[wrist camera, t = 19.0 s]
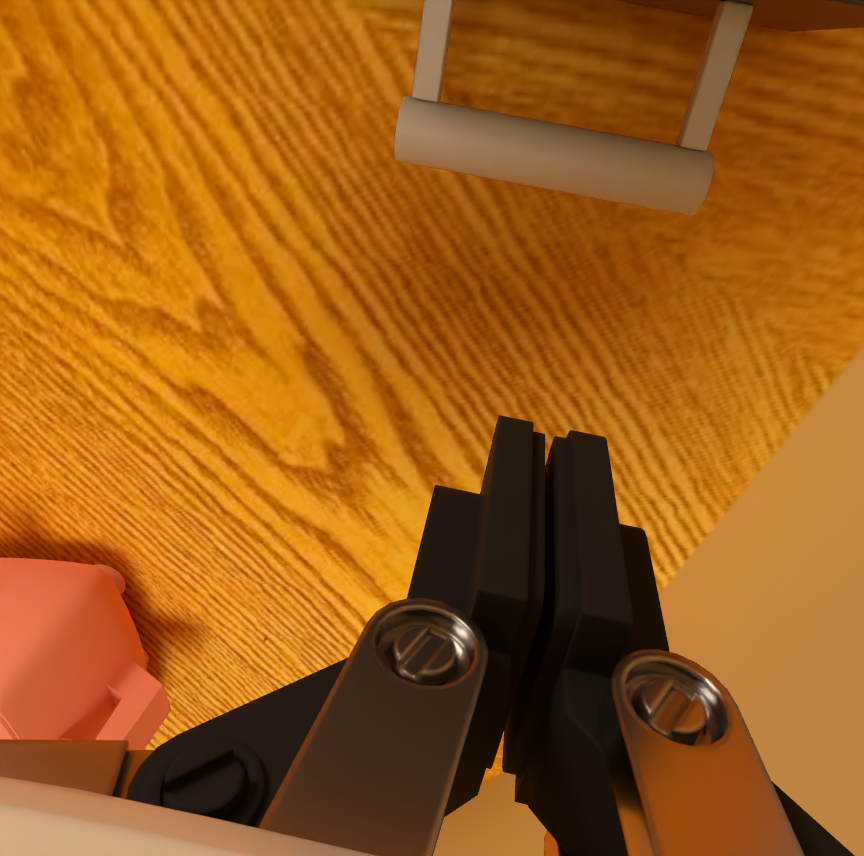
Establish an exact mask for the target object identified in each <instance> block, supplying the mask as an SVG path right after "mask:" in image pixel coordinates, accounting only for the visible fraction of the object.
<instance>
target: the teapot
mask: <svg viewBox="0 0 864 856" xmlns="http://www.w3.org/2000/svg"><path fill="white" fill-rule="evenodd" d="M125 588H126V583H125V580H124V578H123V577H122V575H121V574H120V573H119V572H118V571H117V570H115V569H114V568H112V567H110V566H107V565H102V564H96V565H89V564H83V563H75V562H67V561H56V560H44V559H30V558H5V557H0V739H18V740H129V748H130V750H144V749H145V747H146V746H147V744H148V743H149V741H150V740H151V739H152V737H153V736H154V734H155V733H156V731H157V730H158V728H159V727H160V725H161V724H162V723H163V721H164V720H165V718H166V717H167V715H168V714H169V712H170V711H171V707H170V704H169V701H168V699H167V696H166V693H165V690H164V687H163V685H162V684H161V683H160V682H159V681H157V680H156V679H155V678H154V677H152V676H151V675H150V674H149V673H147V668H146V665H147V663H148V661H149V657H148V654H147V652H146V651H145V650H144V649H143V648H142V644H141V640H140V637H139V635H138V632H137V629H136V627H135V624H134V622H133V620H132V617H131V615H130V613H129V611H128V609H127V607H126V605H125V602H124V600H123V598H122V596H121V594H122V593H123V592H124V591H125Z"/></svg>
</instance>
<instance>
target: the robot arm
mask: <svg viewBox="0 0 864 856" xmlns="http://www.w3.org/2000/svg"><path fill="white" fill-rule="evenodd" d="M503 732H504V744H503V761H502V768H503V772H506V773H510V774H514V775H516V781H515V802H518V803H523V804H527V805H528V807H529V808H530V809H531V811H532V812H533V813H534V814H535V815H536V817H537V818H538V819H539V820H540V822H541V823H542V824H543V825H544V826H545V828H546V829H547V831H546V834H545V837H544V856H854V855H853V854H852V853H851V852H850V851H849V850H848V849H846V848H845V847H844V846H843V845H842V844H841V843H840V842H839V841H837V840H836V839H835V838H834V837H833V836H832V835H831V834H830V833H829V832H828V831H826V830H825V829H824V828H823V827H822V826H821V825H820V824H818V823H817V822H816V821H815V820H814V819H813V818H812V817H811V816H810V815H809V814H808V813H806V812H805V811H804V810H803V809H802V808H801V807H800V806H799V805H797V804H796V803H795V802H794V801H793V800H792V799H791V798H790V797H788V795H786V794H785V793H784V792H783V791H782V790H781V789H780V788H779V787H778V786H776V785H775V784H774V783H773V782H772V781H771V779H770V777H769V775H768V773H767V771H766V769H765V766H764V764H763V762H762V759H761V757H760V755H759V753H758V750H757V748H756V746H755V744H754V741H753V739H752V737H751V735H750V733H749V730H748V728H747V726H746V724H745V721H744V719H743V717H742V715H741V712H740V710H739V708H738V706H737V704H736V703H735V701H734V700H733V698H732V696H731V695H730V693H729V691H728V690H727V689H726V688H725V687H724V685H723V684H722V683H721V682H720V681H719V680H718V679H717V678H716V677H715V676H714V675H713V674H711V673H710V672H709V671H707V670H706V669H704V668H703V667H701V666H700V665H699V664H697V663H695V662H694V661H692V660H689V659H687V658H685V657H683V656H680V655H678V654H676V653H672V652H669V646H668V641H667V637H666V631H665V626H664V621H663V616H662V611H661V607H660V601H659V596H658V591H657V586H656V581H655V576H654V571H653V566H652V561H651V556H650V551H649V546H648V541H647V537H646V534H645V531H644V530H643V529H641V528H637V527H632V526H627V525H623V524H619V519H618V513H617V506H616V499H615V492H614V486H613V479H612V472H611V465H610V459H609V452H608V445H607V440H606V437H602V436H597V435H592V434H587V433H582V432H578V431H573V430H570V431H569V433H568V435H567V437H566V438H562V437H557V436H555V437H554V439H553V442H552V445H551V448H550V452H549V455H548V459H547V462H546V466H545V434H542V433H538V432H533V422H529V421H524V420H519V419H515V418H510V417H505V416H500V415H499V417H498V420H497V424H496V428H495V432H494V437H493V441H492V445H491V449H490V454H489V458H488V462H487V467H486V471H485V475H484V479H483V484H482V488H481V492H480V494H476V493H472V492H467V491H462V490H458V489H453V488H448V487H443V486H439V485H435V488H434V491H433V495H432V499H431V503H430V507H429V512H428V516H427V520H426V524H425V528H424V532H423V536H422V540H421V544H420V548H419V552H418V556H417V560H416V564H415V568H414V572H413V576H412V580H411V584H410V588H409V592H408V596H407V599H404V600H400V601H396V602H393V603H390V604H388V605H386V606H385V607H383V608H381V609H380V610H378V611H377V612H376V613H375V614H374V615H373V616H372V618H371V619H370V620H369V621H368V623H367V624H366V626H365V627H364V629H363V631H362V633H361V635H360V637H359V639H358V641H357V643H356V644H355V646H354V648H353V650H352V652H351V654H350V656H349V658H346V659H344V660H342V661H340V662H337V663H335V664H333V665H331V666H329V667H326V668H324V669H322V670H320V671H318V672H315V673H313V674H311V675H309V676H307V677H304V678H302V679H300V680H298V681H295V682H293V683H291V684H289V685H287V686H284V687H282V688H280V689H278V690H276V691H273V692H271V693H269V694H267V695H265V696H262V697H260V698H258V699H256V700H253V701H251V702H249V703H247V704H245V705H242V706H240V707H238V708H236V709H234V710H231V711H229V712H227V713H225V714H223V715H220V716H218V717H216V718H214V719H211V720H209V721H207V722H205V723H203V724H200V725H198V726H196V727H194V728H192V729H189V730H187V731H185V732H183V733H181V734H178V735H177V736H175V737H173V738H172V739H170V740H168V741H167V742H165V743H164V744H162V745H160V746H159V747H157V748H156V749H155V750H130V748H129V740H18V739H0V856H433V853H434V850H435V846H436V843H437V839H438V836H439V832H440V829H441V826H442V822H443V819H444V817H445V816H447V815H448V814H450V813H451V812H453V811H454V810H456V809H457V808H459V807H460V806H462V805H463V804H465V803H466V802H468V801H469V800H471V799H472V798H474V797H475V796H477V795H478V792H479V789H480V786H481V783H482V780H483V777H484V773H485V770H486V768H488V769H491V768H492V765H493V763H494V759H495V756H496V753H497V750H498V747H499V744H500V741H501V738H502V735H503Z"/></svg>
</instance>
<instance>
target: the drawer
mask: <svg viewBox="0 0 864 856" xmlns="http://www.w3.org/2000/svg"><path fill="white" fill-rule="evenodd" d="M618 1H624V2H629V3H635V4H640V5H646V6H652V7H657V8H663V9H668V10H674V11H680V12H685V13H691V14H696V15H702V16H708V17H713V18H714V20H713V23H712V26H711V30H710V33H709V36H708V39H707V43H706V46H705V49H704V52H703V56H702V59H701V62H700V65H699V69H698V72H697V75H696V78H695V82H694V85H693V88H692V91H691V95H690V98H689V101H688V104H687V108H686V111H685V114H684V117H683V121H682V124H681V127H680V130H679V134H678V137H677V140H676V144H678V145H679V146H676V145H671V144H665V143H660V142H655V141H649V140H644V139H638V138H633V137H627V136H622V135H617V134H611V133H606V132H600V131H595V130H589V129H584V128H579V127H573V126H568V125H562V124H557V123H551V122H546V121H540V120H535V119H530V118H524V117H519V116H513V115H508V114H502V113H497V112H492V111H486V110H481V109H475V108H470V107H464V106H459V105H454V104H448V103H443V102H438V101H439V100H440V99H441V93H442V86H443V79H444V72H445V66H446V59H447V52H448V45H449V39H450V32H451V25H452V18H453V12H454V5H455V0H424V3H423V11H422V19H421V27H420V34H419V42H418V50H417V58H416V65H415V73H414V81H413V88H412V97H410V96H405V97H404V98H403V100H402V102H401V105H400V109H399V113H398V118H397V124H396V131H395V141H394V156H395V160H396V161H399V162H404V163H410V164H415V165H421V166H426V167H431V168H437V169H442V170H447V171H453V172H458V173H463V174H469V175H474V176H479V177H485V178H490V179H496V180H501V181H506V182H512V183H517V184H522V185H528V186H533V187H538V188H544V189H549V190H554V191H560V192H565V193H571V194H576V195H581V196H587V197H592V198H597V199H603V200H608V201H613V202H619V203H624V204H629V205H635V206H640V207H645V208H651V209H656V210H662V211H667V212H672V213H678V214H683V215H688V216H693V215H695V214H696V213H697V212H698V210H699V209H700V207H701V205H702V204H703V202H704V199H705V197H706V195H707V192H708V189H709V186H710V182H711V179H712V174H713V168H714V156H713V154H712V153H711V152H709V151H705V150H706V149H707V147H708V144H709V141H710V138H711V135H712V132H713V129H714V126H715V123H716V120H717V117H718V114H719V111H720V108H721V105H722V102H723V99H724V96H725V93H726V90H727V87H728V84H729V81H730V78H731V75H732V72H733V69H734V66H735V63H736V60H737V57H738V54H739V51H740V48H741V44H742V41H743V38H744V35H745V32H746V29H747V26H748V24H752V25H758V26H763V27H769V28H775V29H780V30H786V31H791V32H792V31H809V30H825V29H842V28H858V27H864V0H618Z"/></svg>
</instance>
